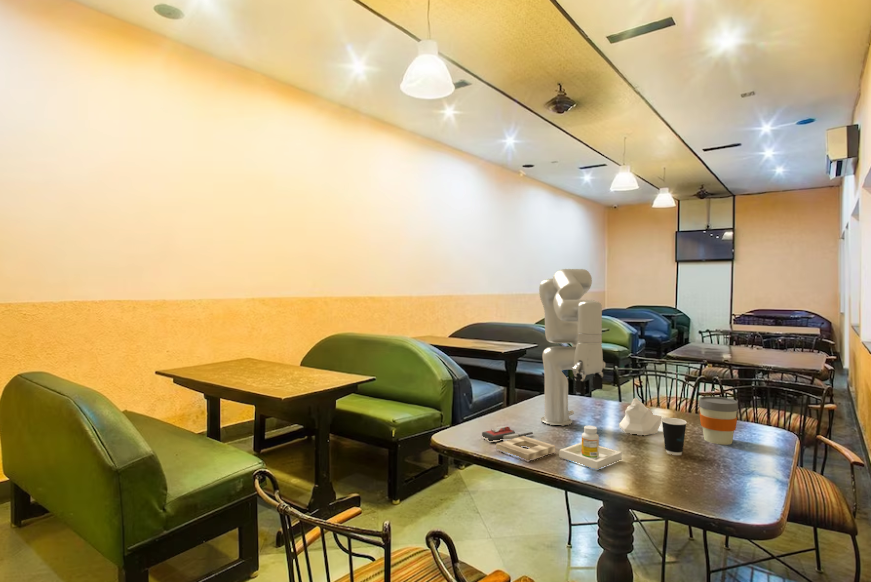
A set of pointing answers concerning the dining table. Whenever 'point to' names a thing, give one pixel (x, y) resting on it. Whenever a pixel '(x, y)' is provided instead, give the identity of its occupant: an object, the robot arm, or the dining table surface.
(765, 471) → the dining table surface
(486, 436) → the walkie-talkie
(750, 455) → the dining table surface
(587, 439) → the supplement bottle
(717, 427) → the reusable coffee cup
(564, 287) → the robot arm
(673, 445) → the dixie cup
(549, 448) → the socket block
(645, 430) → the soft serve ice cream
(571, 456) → the tray
